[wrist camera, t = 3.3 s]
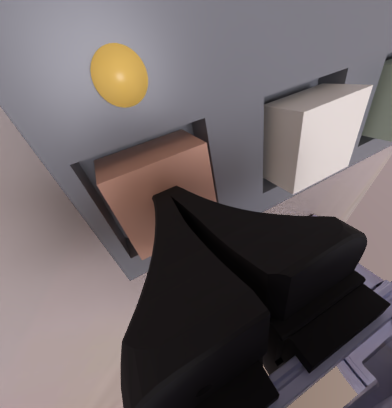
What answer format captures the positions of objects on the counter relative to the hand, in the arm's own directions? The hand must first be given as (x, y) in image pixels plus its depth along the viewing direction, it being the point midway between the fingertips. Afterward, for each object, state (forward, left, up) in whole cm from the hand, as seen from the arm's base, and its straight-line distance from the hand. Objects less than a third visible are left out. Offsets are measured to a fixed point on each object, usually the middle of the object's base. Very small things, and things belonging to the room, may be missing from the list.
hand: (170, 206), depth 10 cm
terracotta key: (0, 0, -3) cm, 3 cm away
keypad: (+1, -10, -4) cm, 11 cm away
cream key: (0, -10, -2) cm, 10 cm away
